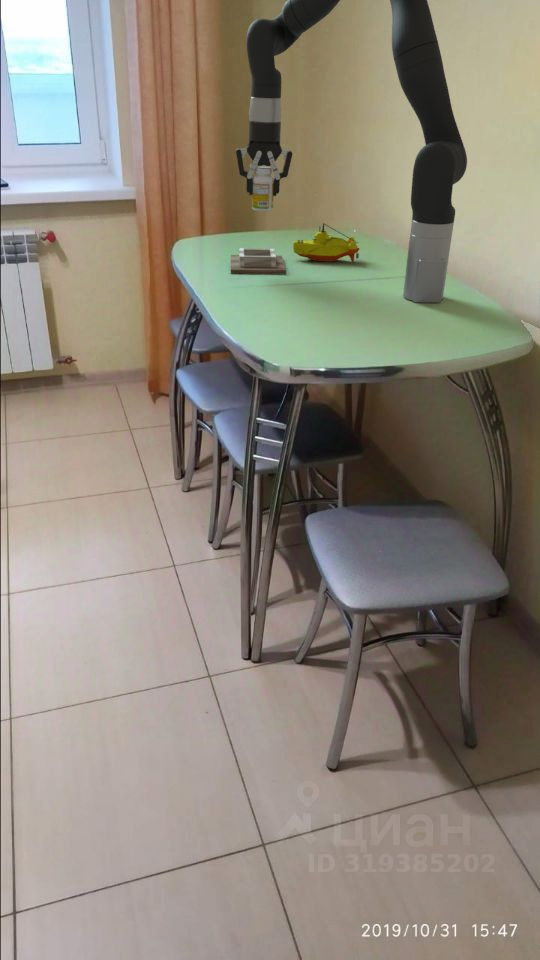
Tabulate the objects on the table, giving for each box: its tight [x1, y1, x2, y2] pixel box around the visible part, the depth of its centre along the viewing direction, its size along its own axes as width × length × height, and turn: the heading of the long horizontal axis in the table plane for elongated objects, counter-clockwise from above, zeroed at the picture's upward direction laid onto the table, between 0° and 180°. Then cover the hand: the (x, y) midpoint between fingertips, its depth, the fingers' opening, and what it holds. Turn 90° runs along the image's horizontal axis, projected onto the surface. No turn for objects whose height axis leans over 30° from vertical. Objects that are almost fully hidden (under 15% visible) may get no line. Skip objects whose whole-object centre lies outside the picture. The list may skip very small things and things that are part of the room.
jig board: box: [230, 247, 286, 275], centre depth 190 cm, size 16×14×4 cm
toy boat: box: [292, 222, 360, 262], centre depth 195 cm, size 6×18×10 cm, turn 89°
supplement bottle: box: [251, 166, 275, 212], centre depth 178 cm, size 5×5×10 cm
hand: (262, 194), depth 179 cm, fingers closed on supplement bottle, 5 cm apart
